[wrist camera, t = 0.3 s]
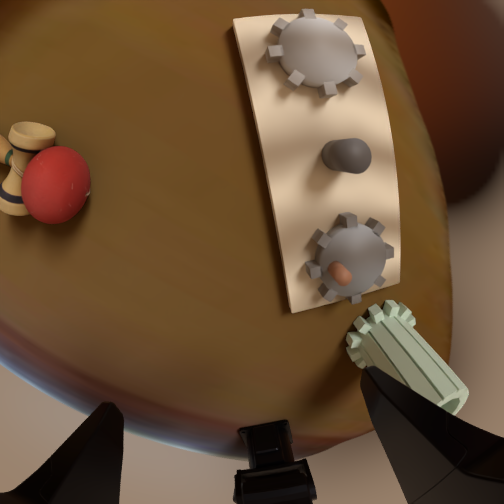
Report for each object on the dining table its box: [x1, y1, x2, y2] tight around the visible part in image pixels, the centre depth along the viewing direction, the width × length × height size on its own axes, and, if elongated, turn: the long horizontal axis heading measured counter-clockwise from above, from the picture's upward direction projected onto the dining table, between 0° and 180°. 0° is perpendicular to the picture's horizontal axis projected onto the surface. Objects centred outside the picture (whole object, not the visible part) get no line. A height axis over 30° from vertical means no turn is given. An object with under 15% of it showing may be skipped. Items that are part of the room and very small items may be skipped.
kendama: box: [0, 122, 90, 224], centre depth 16 cm, size 8×6×18 cm
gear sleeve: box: [346, 300, 469, 416], centre depth 21 cm, size 8×8×13 cm
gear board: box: [233, 9, 400, 313], centre depth 18 cm, size 25×11×5 cm, turn 11°
